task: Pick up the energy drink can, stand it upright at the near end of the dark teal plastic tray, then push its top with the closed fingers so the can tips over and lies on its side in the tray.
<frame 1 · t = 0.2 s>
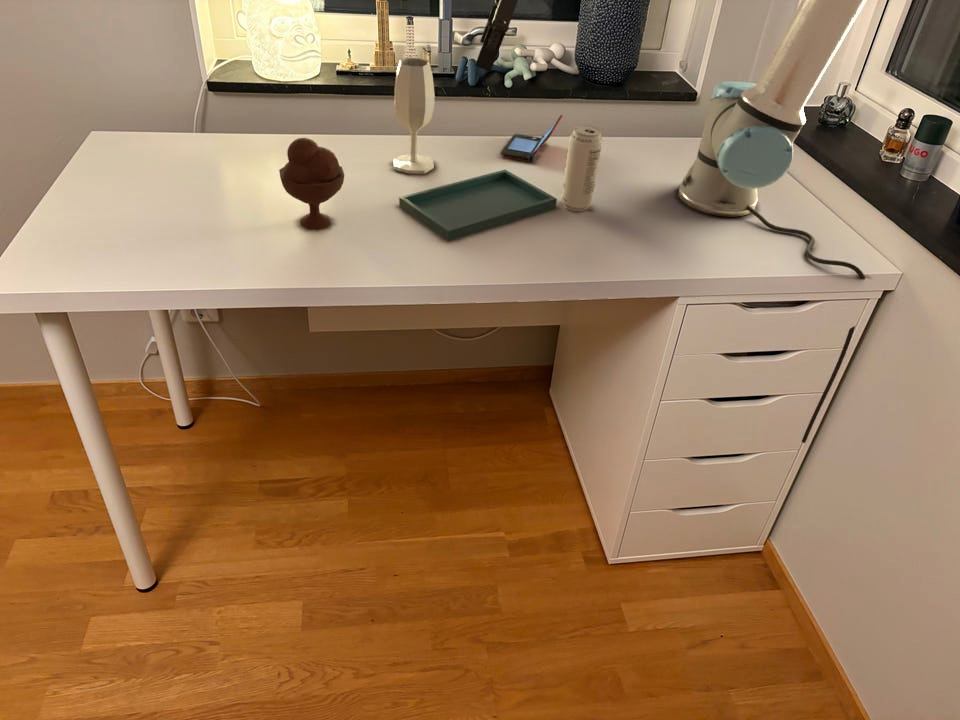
hand: (484, 56, 129), 27 cm above the table, tool tilted 15°, fingers open, 13 cm apart
ice cream bowl: (315, 223, 135), on the table
tray: (478, 207, 144), on the table
handheld console: (530, 152, 168), on the table
wineglass: (413, 167, 157), on the table
energy drink can: (575, 206, 147), on the table
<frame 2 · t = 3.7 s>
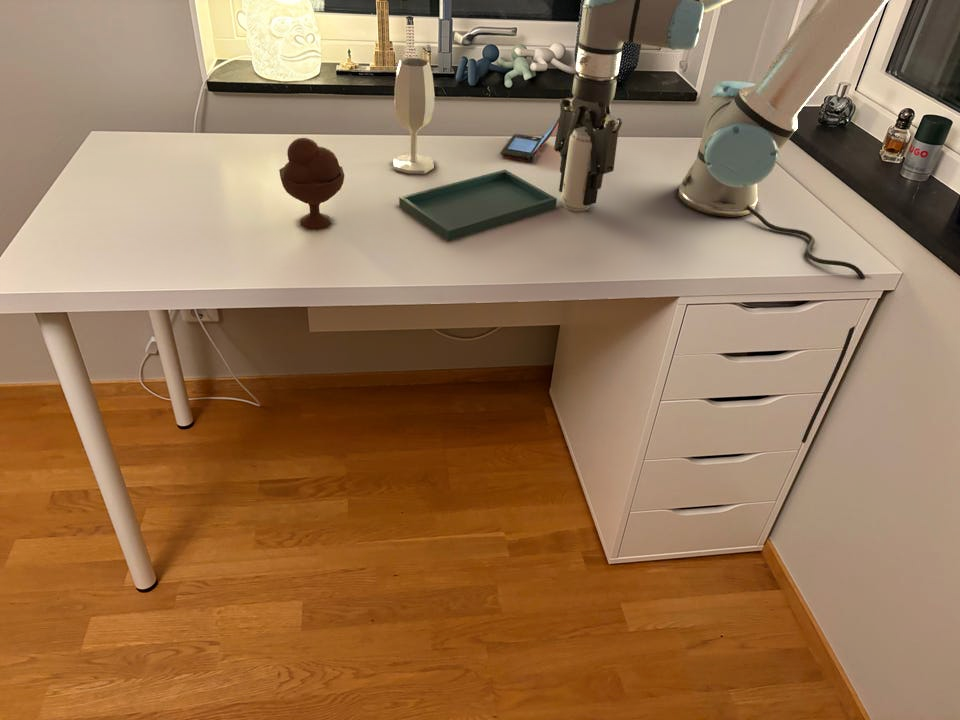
hand: (577, 196, 146), 2 cm above the table, tool pointing down, fingers closed on energy drink can, 6 cm apart
energy drink can: (575, 206, 147), on the table, touching gripper
everything else where it was.
when the fingers open (2 cm above the table, at t = 10.8 s): energy drink can stays where it is, resting on tray.
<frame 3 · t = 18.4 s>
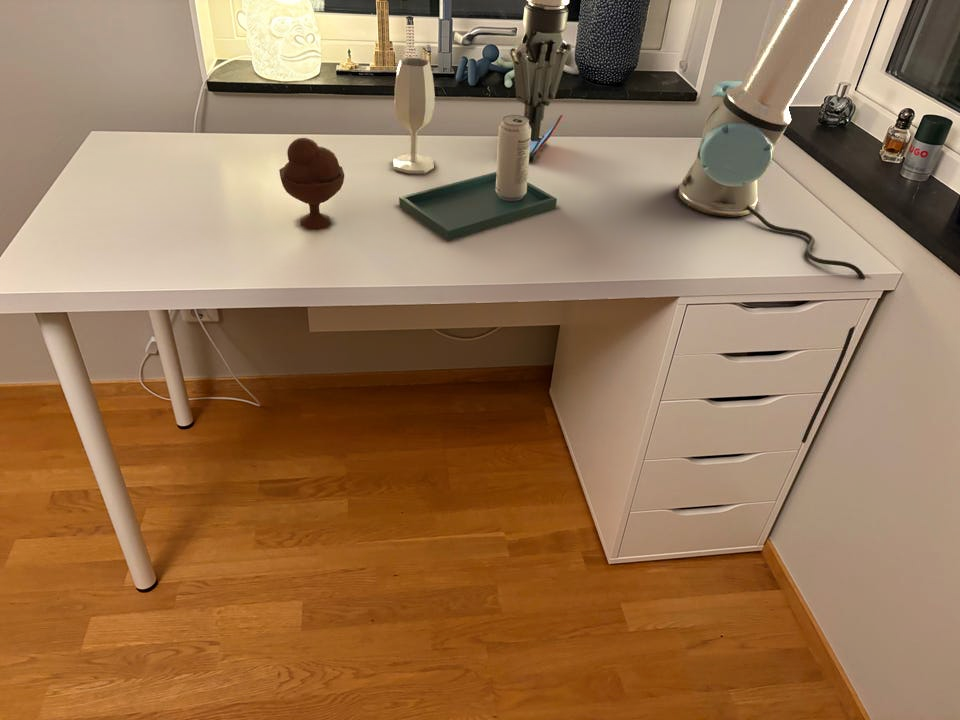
hand: (531, 138, 143), 11 cm above the table, tool pointing down, fingers closed
energy drink can: (510, 196, 148), resting on tray, touching gripper
everything else where it was.
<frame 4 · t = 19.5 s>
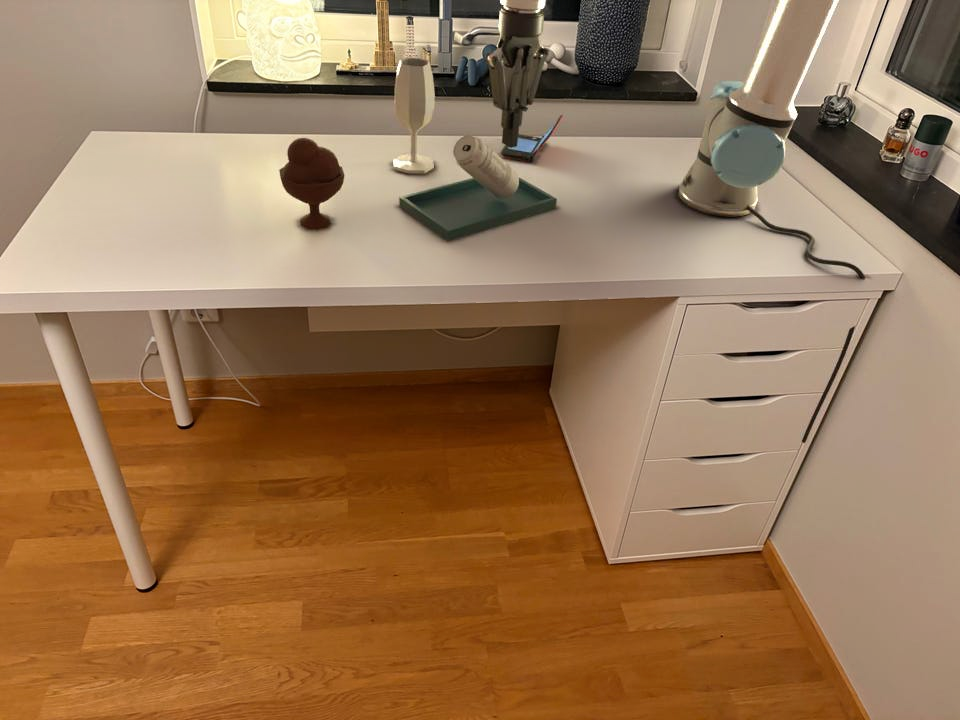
hand: (509, 144, 141), 11 cm above the table, tool pointing down, fingers closed
energy drink can: (508, 186, 146), point 3 cm above the table, touching tray
everything else where it was.
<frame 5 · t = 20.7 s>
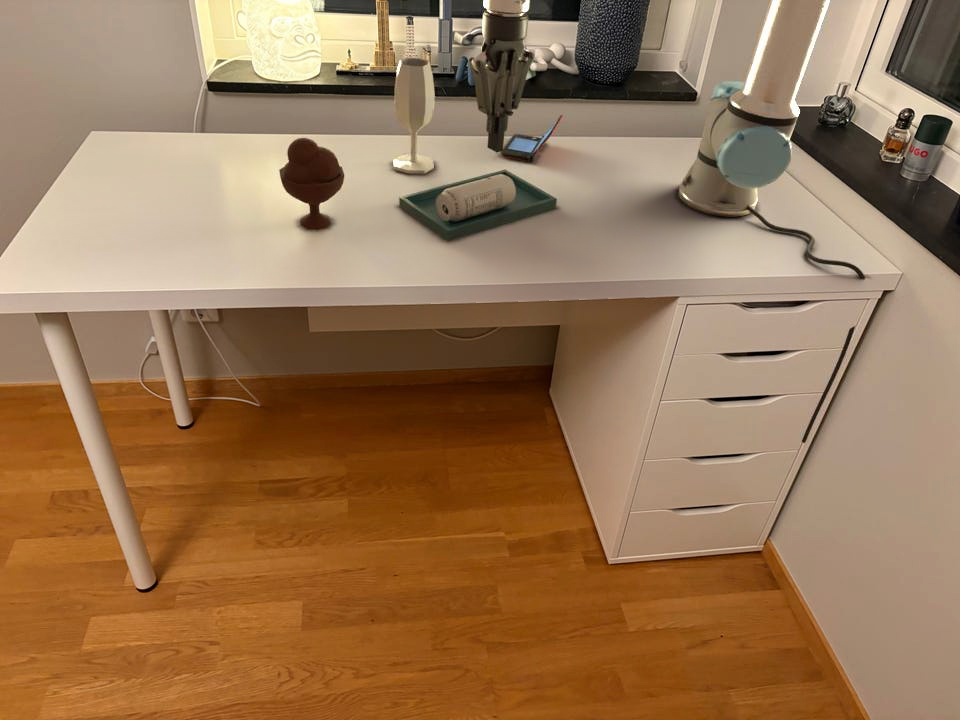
hand: (495, 149, 139), 11 cm above the table, tool pointing down, fingers closed
energy drink can: (508, 188, 143), point 4 cm above the table, touching tray
everything else where it was.
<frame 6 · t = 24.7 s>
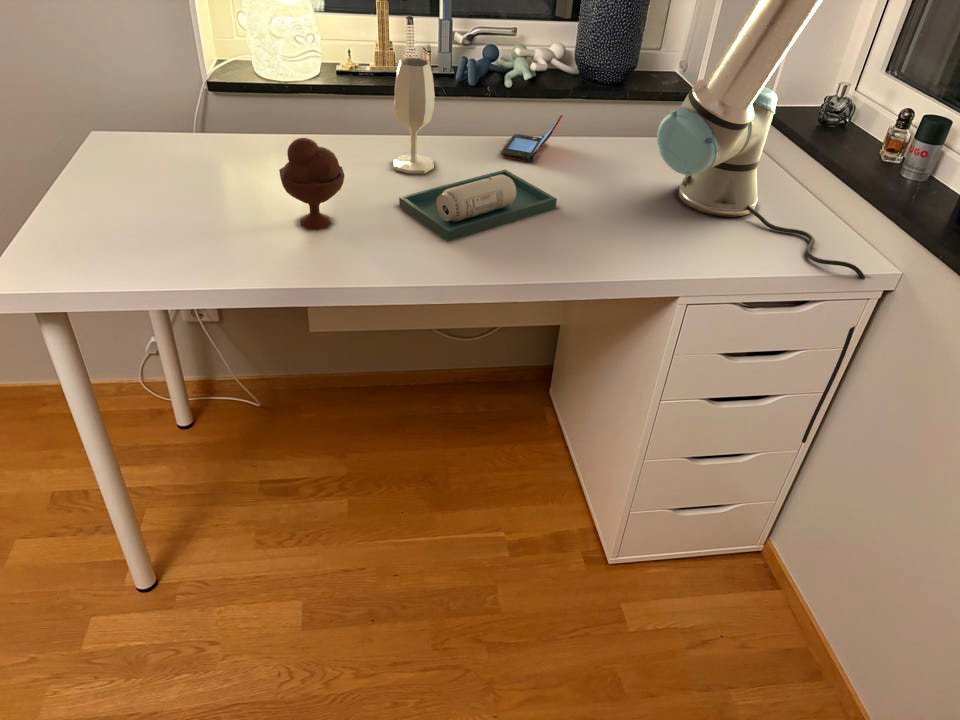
hand: (562, 16, 146), 29 cm above the table, tool pointing down, fingers closed
nothing on the table moved.
at the end: energy drink can tilted 90°; energy drink can inside the target area on the tray (5.6 cm from its centre), point 3.5 cm above the tray's base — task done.
